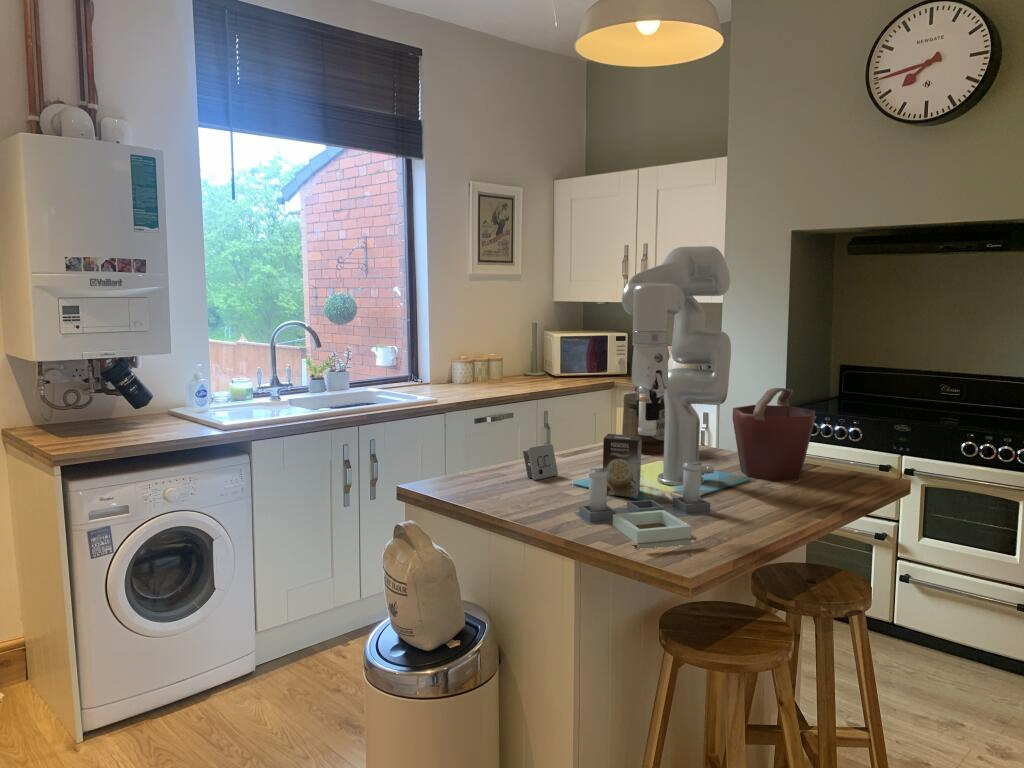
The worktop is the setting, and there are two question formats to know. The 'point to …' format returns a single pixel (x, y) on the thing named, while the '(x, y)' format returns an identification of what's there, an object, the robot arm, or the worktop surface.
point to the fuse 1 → (597, 489)
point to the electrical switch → (540, 462)
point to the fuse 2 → (691, 482)
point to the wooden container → (631, 425)
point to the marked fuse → (644, 426)
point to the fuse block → (645, 505)
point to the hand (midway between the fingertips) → (647, 417)
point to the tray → (671, 532)
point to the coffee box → (622, 464)
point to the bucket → (772, 437)
